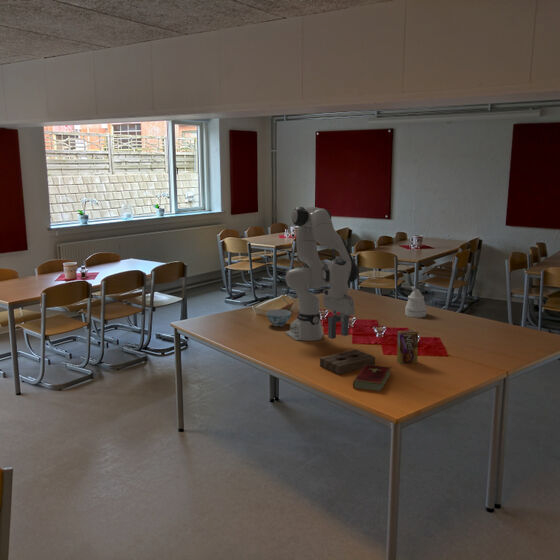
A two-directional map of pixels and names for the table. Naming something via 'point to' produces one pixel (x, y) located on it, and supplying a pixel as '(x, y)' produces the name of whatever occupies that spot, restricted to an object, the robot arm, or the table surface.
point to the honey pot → (415, 304)
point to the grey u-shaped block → (332, 326)
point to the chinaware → (278, 317)
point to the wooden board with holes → (346, 361)
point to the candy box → (407, 347)
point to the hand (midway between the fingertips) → (338, 320)
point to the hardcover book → (372, 377)
